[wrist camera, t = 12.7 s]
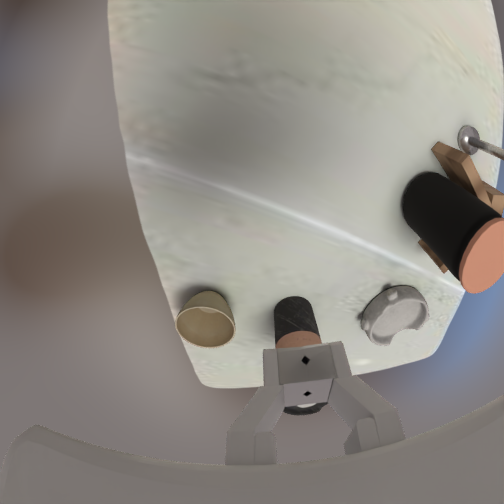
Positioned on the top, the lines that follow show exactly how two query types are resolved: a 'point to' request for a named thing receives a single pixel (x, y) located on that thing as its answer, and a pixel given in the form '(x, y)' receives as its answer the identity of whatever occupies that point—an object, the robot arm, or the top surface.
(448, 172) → the wooden l-shaped bracket
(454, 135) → the top surface
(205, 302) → the flower pot
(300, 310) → the travel mug
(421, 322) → the dish
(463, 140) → the metal ball stand
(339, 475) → the robot arm
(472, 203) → the coffee jar
